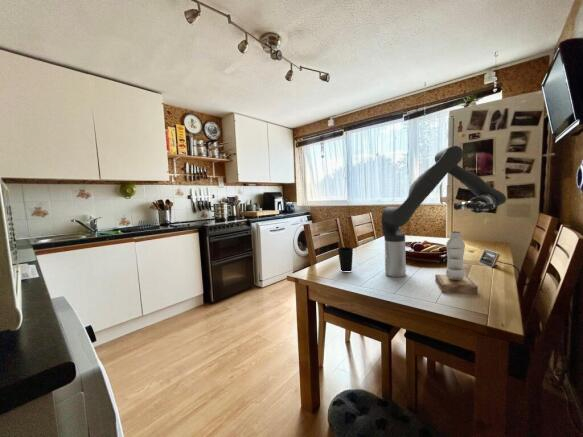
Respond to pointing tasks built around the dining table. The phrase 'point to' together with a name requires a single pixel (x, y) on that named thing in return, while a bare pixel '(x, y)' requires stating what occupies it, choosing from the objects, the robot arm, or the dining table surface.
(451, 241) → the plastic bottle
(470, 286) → the plinth
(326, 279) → the dining table surface
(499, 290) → the dining table surface
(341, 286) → the dining table surface
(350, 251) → the cup
